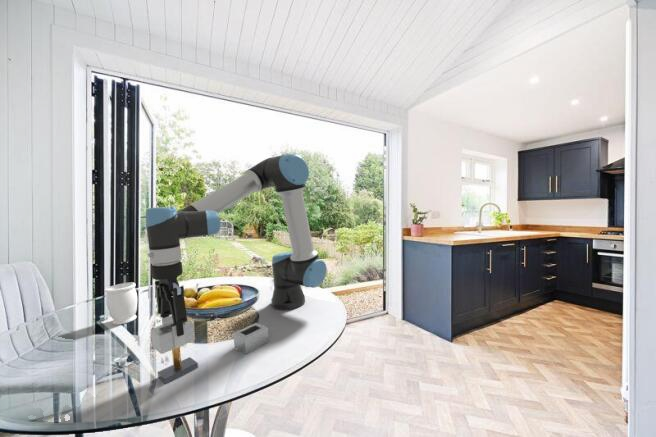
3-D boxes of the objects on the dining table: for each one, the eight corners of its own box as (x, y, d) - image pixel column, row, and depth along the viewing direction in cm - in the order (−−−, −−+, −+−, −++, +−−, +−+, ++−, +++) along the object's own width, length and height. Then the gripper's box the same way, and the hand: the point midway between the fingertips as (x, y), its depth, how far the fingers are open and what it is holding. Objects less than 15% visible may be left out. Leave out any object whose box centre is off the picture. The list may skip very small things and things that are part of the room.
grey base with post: (190, 361, 88) (186, 328, 87) (198, 367, 84) (194, 333, 83) (158, 377, 81) (153, 341, 80) (165, 384, 78) (160, 346, 77)
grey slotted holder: (257, 336, 101) (256, 322, 101) (268, 341, 97) (267, 327, 97) (234, 347, 94) (233, 333, 94) (246, 354, 90) (244, 338, 90)
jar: (124, 326, 115) (119, 290, 114) (102, 326, 118) (98, 290, 116) (145, 315, 126) (141, 282, 124) (125, 314, 128) (121, 282, 127)
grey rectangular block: (185, 334, 87) (183, 318, 87) (195, 340, 83) (193, 323, 83) (152, 346, 80) (150, 329, 80) (161, 354, 76) (159, 335, 76)
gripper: (139, 261, 83) (147, 338, 85) (165, 270, 71) (175, 359, 73) (166, 256, 89) (174, 328, 91) (196, 263, 76) (204, 346, 78)
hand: (174, 342), depth 82 cm, fingers closed on grey rectangular block, 6 cm apart
